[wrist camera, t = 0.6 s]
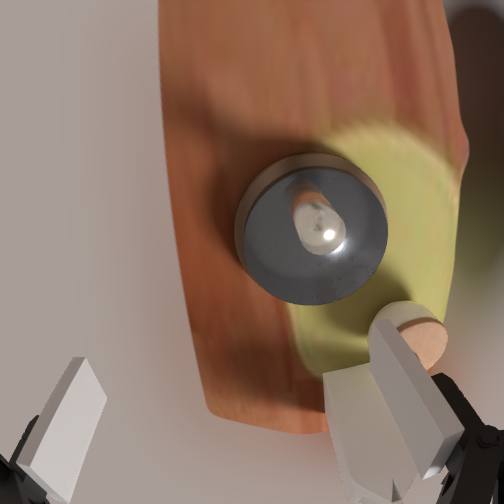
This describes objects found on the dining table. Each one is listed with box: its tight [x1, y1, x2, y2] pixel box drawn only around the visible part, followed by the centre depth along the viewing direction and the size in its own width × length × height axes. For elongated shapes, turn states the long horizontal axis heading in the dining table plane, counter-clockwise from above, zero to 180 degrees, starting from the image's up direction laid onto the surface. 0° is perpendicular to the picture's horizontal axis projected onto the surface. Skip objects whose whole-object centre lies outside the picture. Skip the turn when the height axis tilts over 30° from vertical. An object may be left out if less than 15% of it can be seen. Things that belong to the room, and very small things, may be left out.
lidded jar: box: [367, 301, 448, 370], centre depth 38 cm, size 11×11×9 cm
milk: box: [323, 363, 418, 504], centre depth 37 cm, size 12×12×26 cm
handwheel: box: [244, 166, 388, 305], centre depth 28 cm, size 15×15×11 cm
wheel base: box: [234, 152, 388, 288], centre depth 35 cm, size 17×17×2 cm
